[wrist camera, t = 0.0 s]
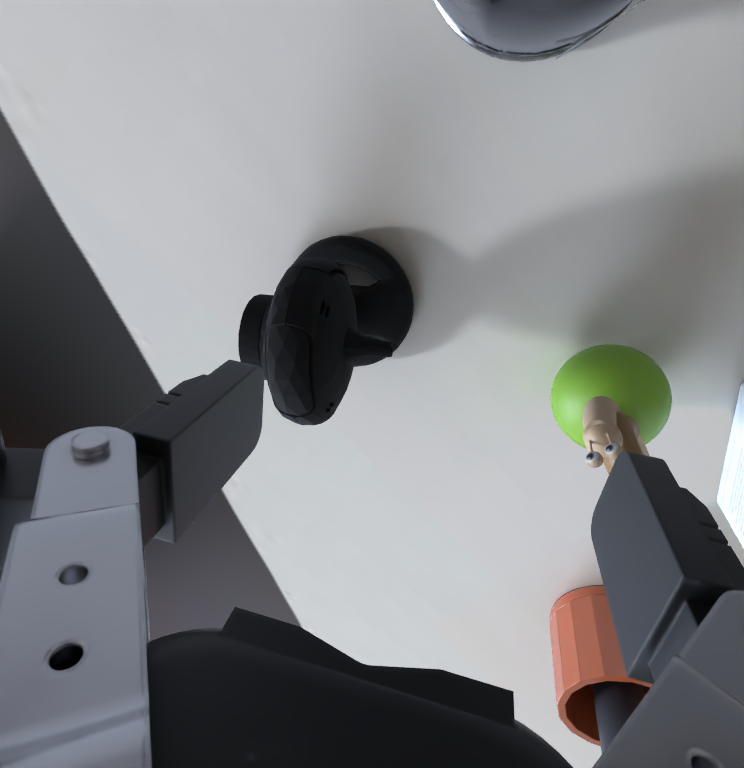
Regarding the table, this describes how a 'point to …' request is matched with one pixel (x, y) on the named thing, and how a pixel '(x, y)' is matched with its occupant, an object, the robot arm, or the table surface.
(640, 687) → the marker pen
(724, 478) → the small box
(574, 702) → the pen cup
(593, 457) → the snail figurine
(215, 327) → the table surface
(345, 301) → the webcam
